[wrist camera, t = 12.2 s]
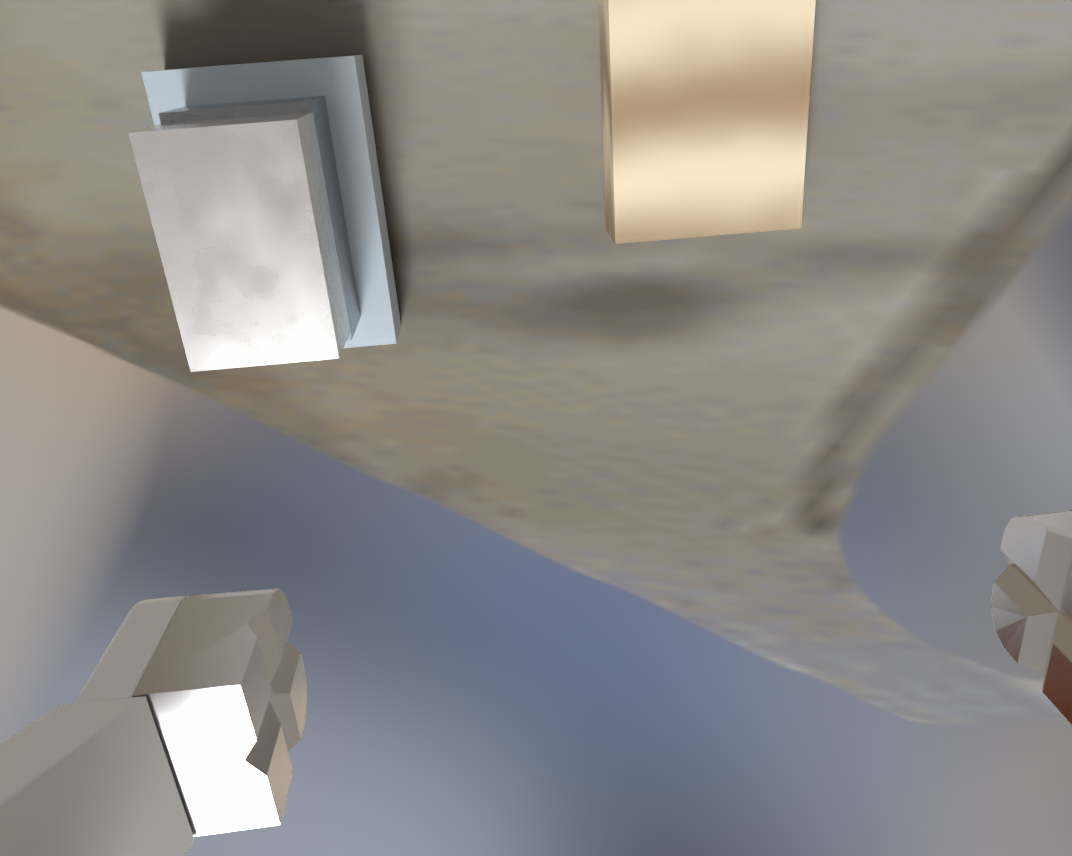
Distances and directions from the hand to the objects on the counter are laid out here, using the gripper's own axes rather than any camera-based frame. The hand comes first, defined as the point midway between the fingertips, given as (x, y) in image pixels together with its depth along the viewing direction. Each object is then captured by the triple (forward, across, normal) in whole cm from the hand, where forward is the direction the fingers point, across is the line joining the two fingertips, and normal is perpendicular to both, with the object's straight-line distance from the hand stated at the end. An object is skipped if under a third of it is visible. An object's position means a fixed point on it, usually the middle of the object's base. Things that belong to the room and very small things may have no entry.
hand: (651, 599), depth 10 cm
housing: (+32, +11, +1) cm, 34 cm away
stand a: (+35, -9, -3) cm, 36 cm away
